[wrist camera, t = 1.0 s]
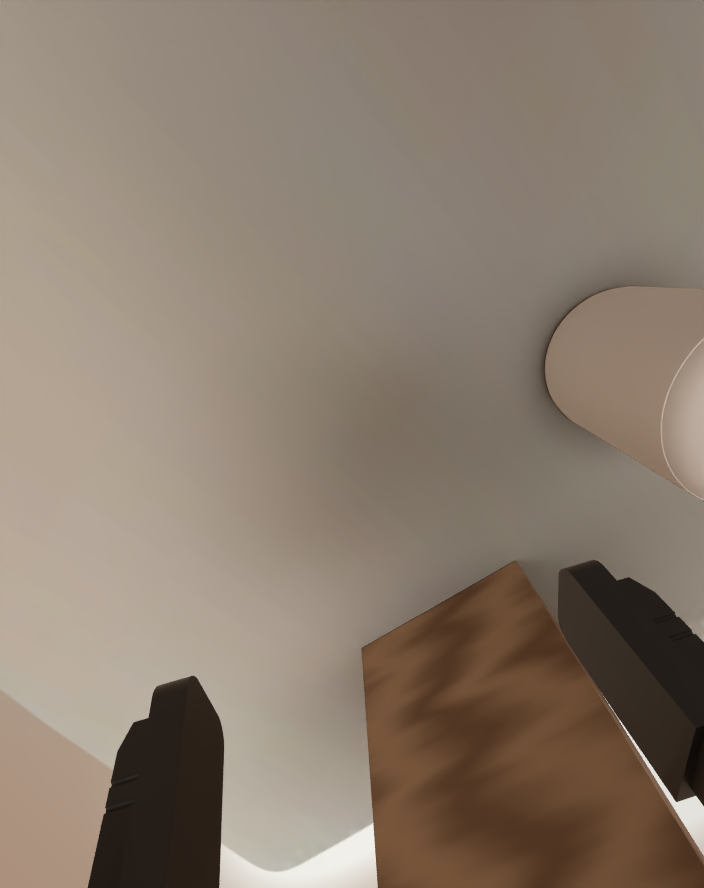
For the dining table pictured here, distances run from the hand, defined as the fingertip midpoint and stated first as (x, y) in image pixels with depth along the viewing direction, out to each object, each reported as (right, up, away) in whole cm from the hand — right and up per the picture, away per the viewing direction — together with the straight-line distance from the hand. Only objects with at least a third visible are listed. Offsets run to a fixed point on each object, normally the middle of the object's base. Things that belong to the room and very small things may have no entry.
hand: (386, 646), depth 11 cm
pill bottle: (+14, +9, +18) cm, 24 cm away
